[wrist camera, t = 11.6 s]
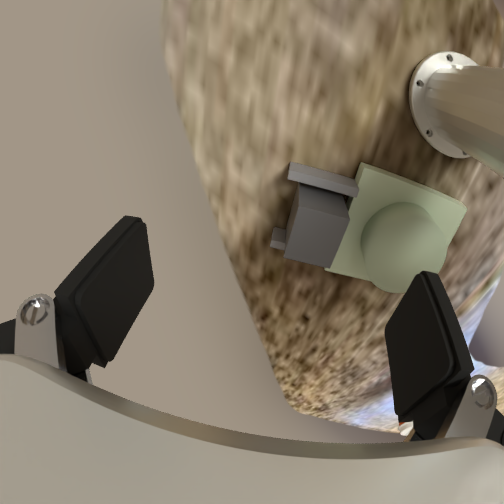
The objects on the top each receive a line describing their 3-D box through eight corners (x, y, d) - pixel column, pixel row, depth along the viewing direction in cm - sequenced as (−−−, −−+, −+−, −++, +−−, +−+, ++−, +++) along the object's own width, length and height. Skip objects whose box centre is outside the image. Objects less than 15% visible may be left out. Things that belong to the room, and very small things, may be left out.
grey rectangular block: (341, 190, 31) (350, 219, 25) (325, 233, 34) (329, 268, 29) (299, 179, 31) (298, 205, 25) (286, 223, 34) (283, 257, 29)
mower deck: (460, 201, 28) (482, 225, 23) (415, 283, 36) (426, 312, 31) (295, 143, 28) (294, 158, 23) (268, 247, 37) (262, 277, 32)
